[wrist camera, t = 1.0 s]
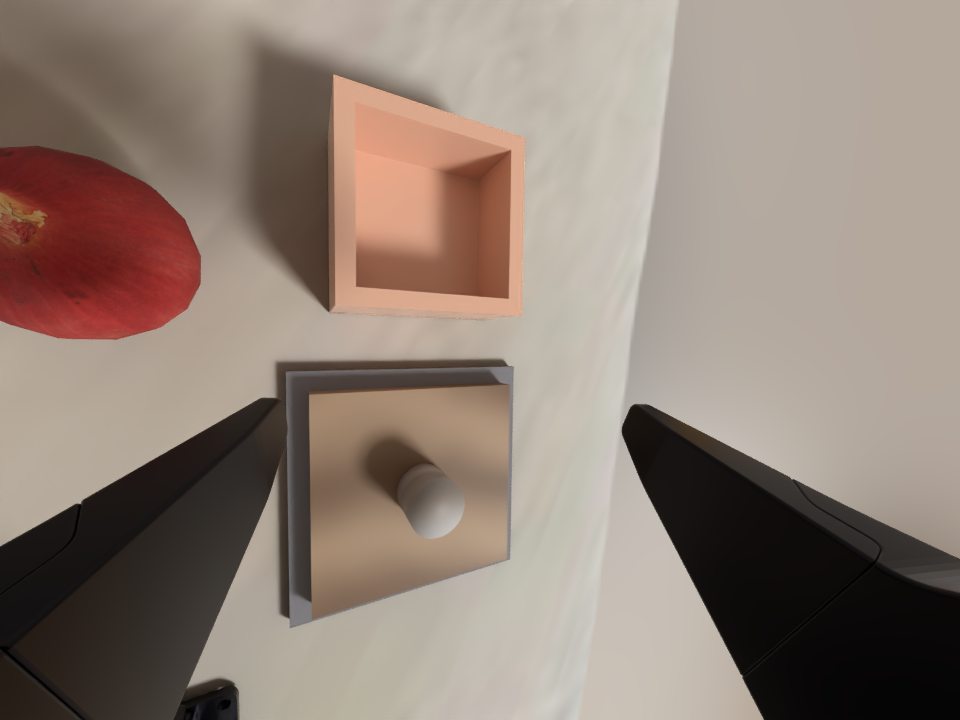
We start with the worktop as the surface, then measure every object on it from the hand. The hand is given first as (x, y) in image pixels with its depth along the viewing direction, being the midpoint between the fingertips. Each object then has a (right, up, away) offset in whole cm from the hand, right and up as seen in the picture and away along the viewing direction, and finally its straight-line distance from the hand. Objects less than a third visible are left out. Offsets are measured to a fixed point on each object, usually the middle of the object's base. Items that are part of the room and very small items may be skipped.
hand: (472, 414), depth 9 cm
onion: (-15, +5, +6) cm, 16 cm away
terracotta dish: (-4, +8, +11) cm, 14 cm away
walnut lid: (-4, -6, +11) cm, 13 cm away
